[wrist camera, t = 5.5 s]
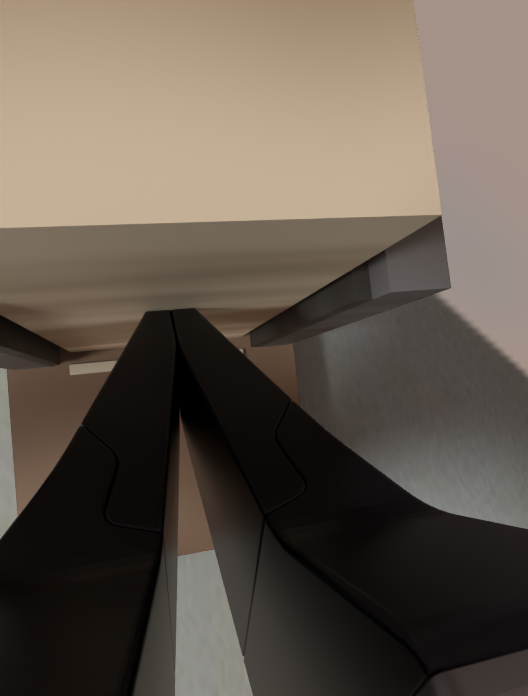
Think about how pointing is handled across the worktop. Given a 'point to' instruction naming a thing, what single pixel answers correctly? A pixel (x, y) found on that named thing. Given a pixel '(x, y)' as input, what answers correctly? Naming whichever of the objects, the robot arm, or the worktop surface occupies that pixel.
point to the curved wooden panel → (202, 157)
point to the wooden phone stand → (258, 345)
